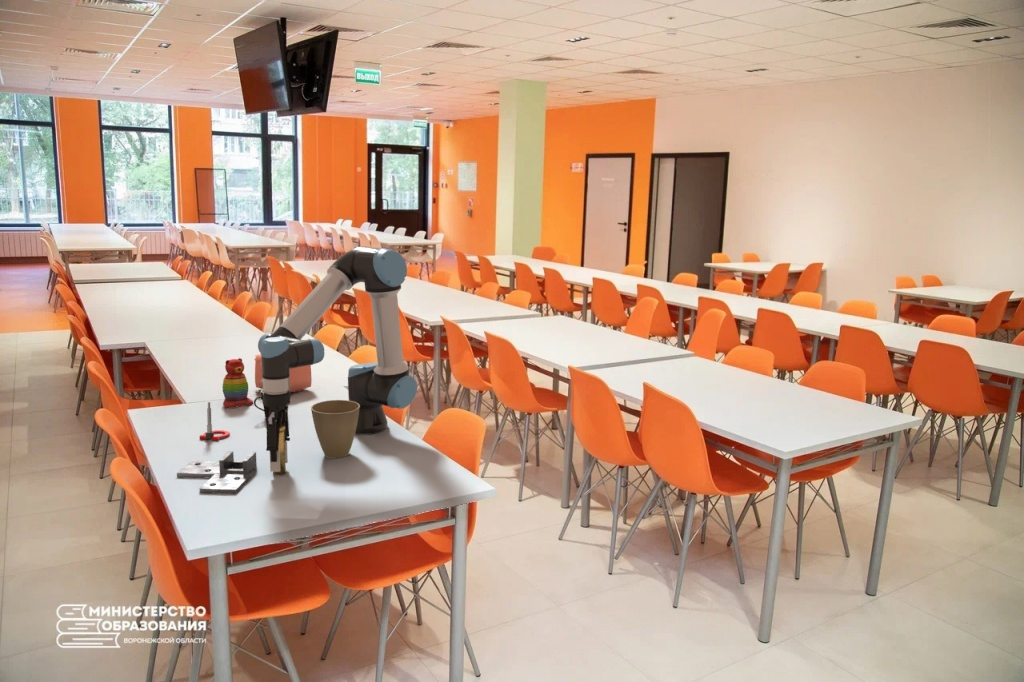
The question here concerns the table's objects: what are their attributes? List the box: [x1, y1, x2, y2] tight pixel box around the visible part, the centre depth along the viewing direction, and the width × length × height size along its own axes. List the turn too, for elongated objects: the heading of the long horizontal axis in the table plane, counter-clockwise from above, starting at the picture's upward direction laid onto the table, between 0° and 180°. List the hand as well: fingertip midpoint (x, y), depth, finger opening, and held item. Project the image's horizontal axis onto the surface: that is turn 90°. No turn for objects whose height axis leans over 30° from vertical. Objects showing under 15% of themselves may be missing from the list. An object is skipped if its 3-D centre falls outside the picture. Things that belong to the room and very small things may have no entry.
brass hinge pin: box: [272, 425, 287, 476], centre depth 222 cm, size 4×4×14 cm
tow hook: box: [199, 401, 231, 442], centre depth 254 cm, size 8×13×9 cm
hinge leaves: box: [176, 450, 258, 495], centre depth 217 cm, size 21×21×5 cm
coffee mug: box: [253, 389, 270, 418], centre depth 276 cm, size 12×9×10 cm
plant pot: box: [310, 399, 360, 459], centre depth 238 cm, size 15×15×16 cm
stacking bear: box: [222, 357, 254, 409], centre depth 291 cm, size 11×10×18 cm
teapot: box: [254, 353, 312, 393], centre depth 314 cm, size 25×23×18 cm
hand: (279, 466), depth 223 cm, fingers open, 6 cm apart
